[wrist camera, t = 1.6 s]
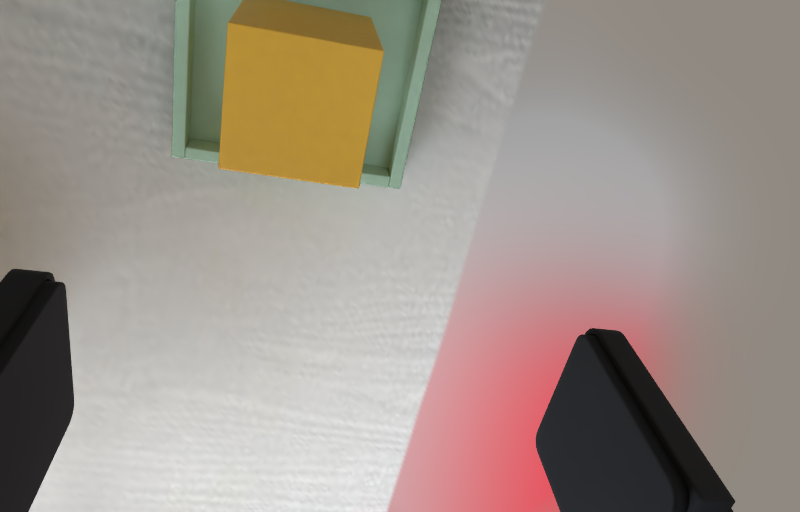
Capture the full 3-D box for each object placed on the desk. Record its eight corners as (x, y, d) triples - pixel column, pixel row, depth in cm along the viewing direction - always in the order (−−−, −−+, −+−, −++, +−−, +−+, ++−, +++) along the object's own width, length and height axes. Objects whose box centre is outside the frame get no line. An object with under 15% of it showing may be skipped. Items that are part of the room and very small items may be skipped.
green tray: (438, -23, 23) (445, -18, 22) (396, 175, 27) (400, 189, 26) (185, -77, 21) (177, -75, 20) (178, 143, 25) (171, 156, 24)
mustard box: (371, 16, 23) (384, 50, 18) (351, 132, 25) (358, 189, 21) (247, -8, 22) (227, 21, 18) (237, 114, 24) (217, 169, 20)
